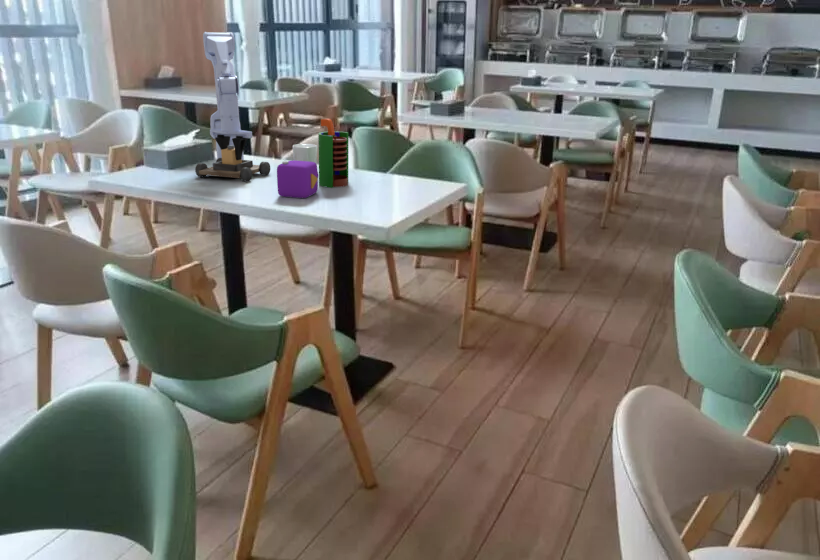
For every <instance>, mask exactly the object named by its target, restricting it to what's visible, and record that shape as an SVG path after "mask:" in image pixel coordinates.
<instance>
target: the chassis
mask: <svg viewBox="0 0 820 560" xmlns="http://www.w3.org/2000/svg"><path fill="white" fill-rule="evenodd" d="M212 164H213V165H212V166H210V167H208V165H207V164H206V163H203V162H198V163H197V164H196V165H195V169H194V170H195V171H194V172H195V175H196V177H198V178H205V177H207V176H214V177H224V178H235V179H240V180H241V181H242V182H245V183H246V182H250V181H251V180H252V178H253V175H254V174H257V173H259V174H260V175H261V176H269V174H271V173H270V172H271V165H270V163H269V162H268V161H261V162H260V163H259V164H254V163H253V160H250V159H249V160H248V159H244V160H242V163H240V164H237V165H231V164H222V158H218V159H217V158H216V162H213V163H212Z"/></svg>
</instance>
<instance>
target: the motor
mask: <svg viewBox="0 0 820 560" xmlns="http://www.w3.org/2000/svg"><path fill="white" fill-rule="evenodd" d="M320 127H326V128H327V131H321V132H320V131H319V132H318V136H317V137H318V186H321V187H324V188H331V189H333V188H341V187H346V186H348V183H349V132H348V131H347V132H346V131H335V128H334V127H335V126H334V122H333V120H332V119H331V118H321V119H320Z"/></svg>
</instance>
